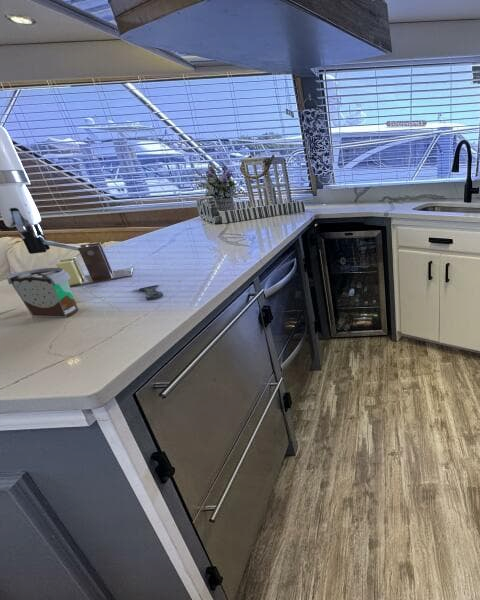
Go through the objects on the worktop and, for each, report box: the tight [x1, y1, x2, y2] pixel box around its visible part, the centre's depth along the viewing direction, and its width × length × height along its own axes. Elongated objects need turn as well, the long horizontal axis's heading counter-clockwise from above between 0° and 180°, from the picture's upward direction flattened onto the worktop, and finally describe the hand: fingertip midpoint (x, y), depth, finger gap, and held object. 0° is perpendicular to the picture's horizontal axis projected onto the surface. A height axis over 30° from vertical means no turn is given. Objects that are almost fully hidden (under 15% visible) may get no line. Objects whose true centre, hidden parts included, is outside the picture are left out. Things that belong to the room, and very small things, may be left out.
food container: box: [6, 267, 79, 319], centre depth 74 cm, size 12×6×10 cm, turn 82°
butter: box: [55, 256, 86, 285], centre depth 92 cm, size 3×8×6 cm, turn 36°
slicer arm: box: [38, 235, 79, 252], centre depth 89 cm, size 14×3×3 cm, turn 126°
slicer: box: [69, 242, 134, 289], centre depth 94 cm, size 14×10×11 cm
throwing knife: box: [138, 284, 164, 300], centre depth 87 cm, size 4×20×1 cm, turn 44°
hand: (40, 250), depth 87 cm, fingers closed on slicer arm, 3 cm apart
